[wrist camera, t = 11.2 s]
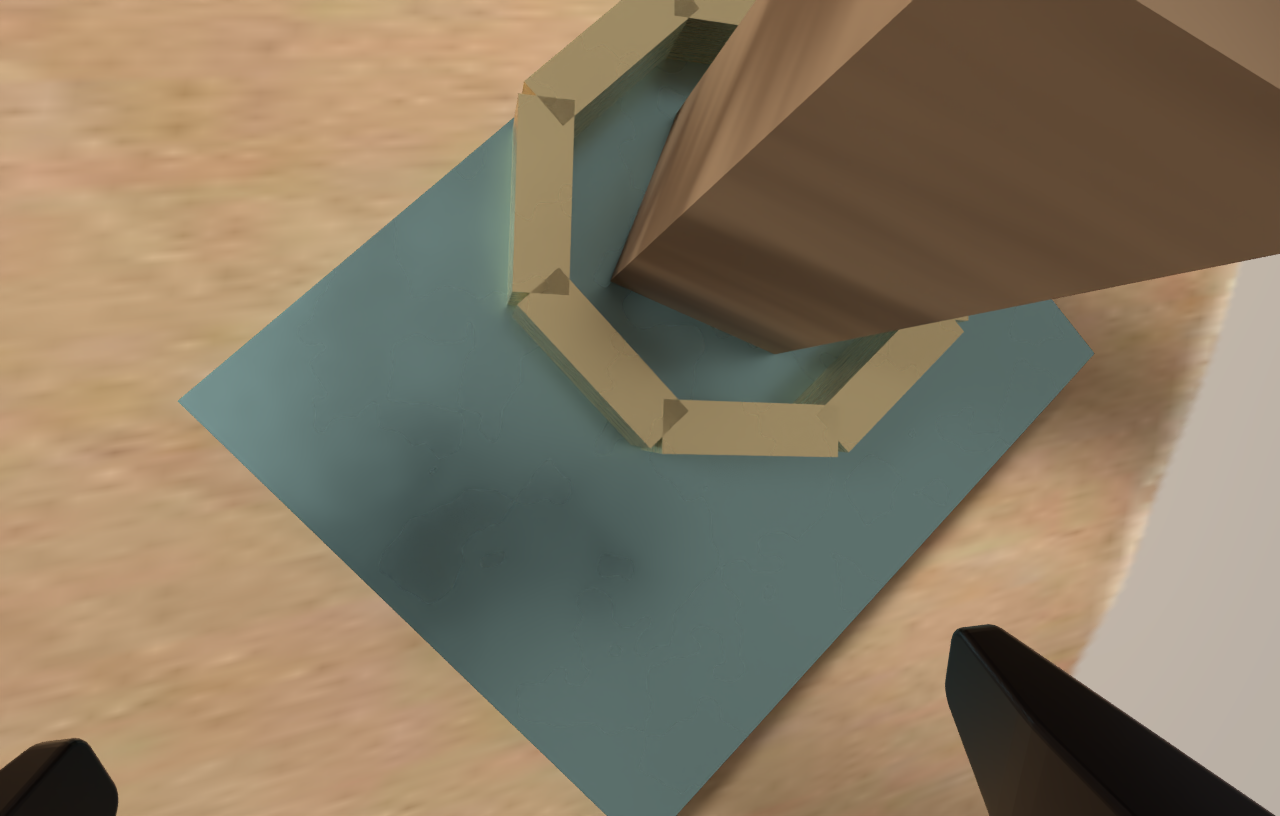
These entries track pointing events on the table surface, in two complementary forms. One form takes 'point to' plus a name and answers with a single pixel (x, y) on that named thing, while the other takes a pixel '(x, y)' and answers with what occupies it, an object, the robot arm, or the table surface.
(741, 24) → the peg
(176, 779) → the table surface
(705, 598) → the socket plate
